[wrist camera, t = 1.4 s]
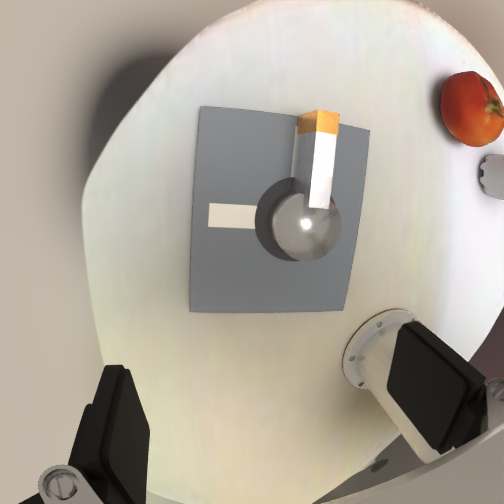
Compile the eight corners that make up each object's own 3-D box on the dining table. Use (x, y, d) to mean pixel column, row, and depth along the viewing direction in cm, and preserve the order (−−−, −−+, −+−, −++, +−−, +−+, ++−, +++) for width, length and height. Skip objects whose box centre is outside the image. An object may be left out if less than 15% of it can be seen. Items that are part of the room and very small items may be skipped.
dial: (321, 251, 32) (342, 267, 28) (264, 249, 31) (277, 265, 27) (336, 122, 29) (361, 118, 24) (277, 113, 28) (293, 105, 23)
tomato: (466, 156, 34) (510, 162, 27) (420, 124, 32) (467, 122, 24) (478, 99, 32) (520, 97, 25) (434, 62, 30) (478, 52, 22)
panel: (364, 130, 31) (371, 130, 30) (338, 306, 36) (343, 311, 35) (200, 107, 28) (200, 105, 26) (189, 306, 33) (189, 313, 32)
